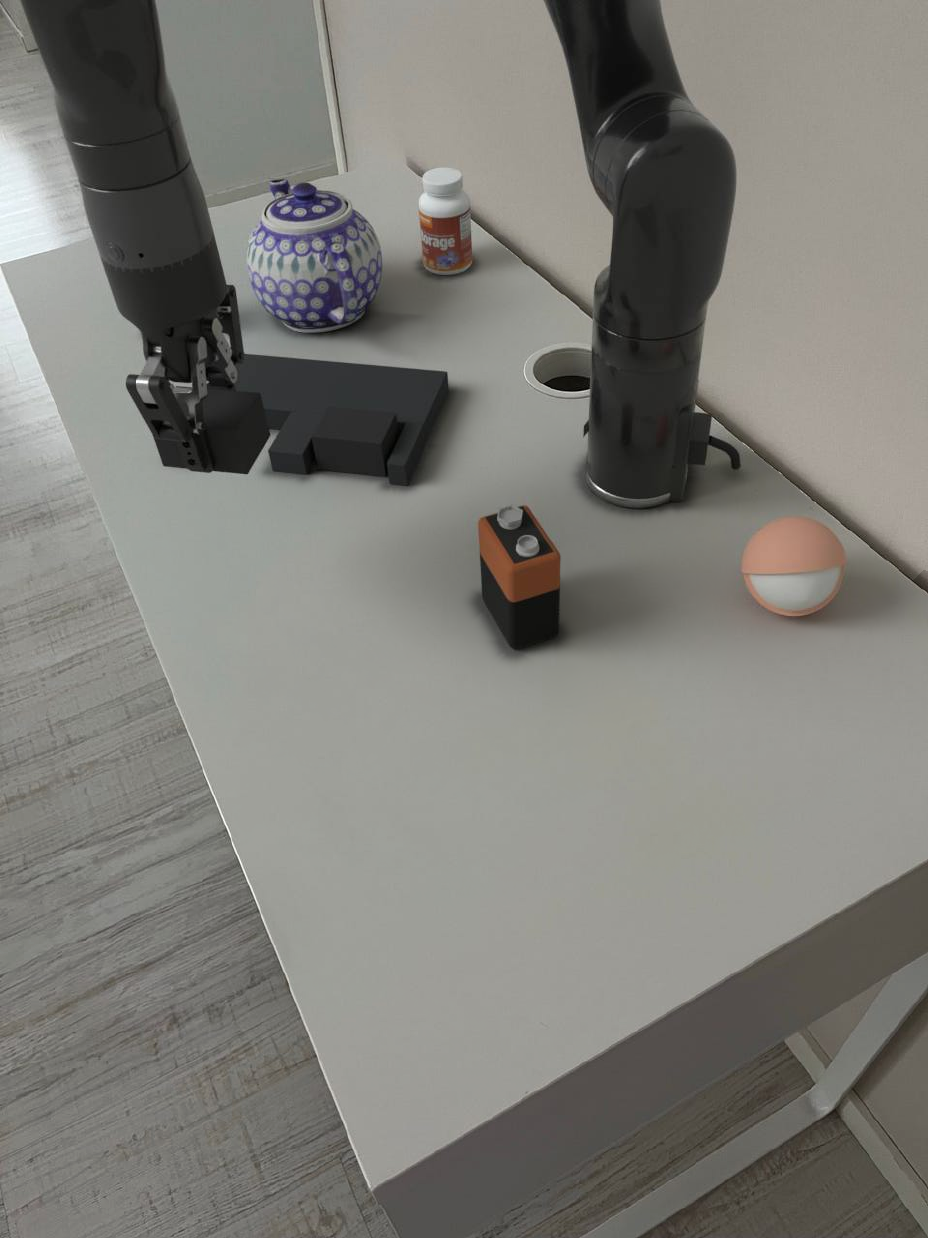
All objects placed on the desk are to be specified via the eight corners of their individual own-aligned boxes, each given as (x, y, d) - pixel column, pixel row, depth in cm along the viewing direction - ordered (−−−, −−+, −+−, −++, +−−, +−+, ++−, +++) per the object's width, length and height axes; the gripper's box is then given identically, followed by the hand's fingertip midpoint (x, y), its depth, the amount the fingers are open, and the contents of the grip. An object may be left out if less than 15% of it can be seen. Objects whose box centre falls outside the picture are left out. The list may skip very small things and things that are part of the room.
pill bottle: (414, 271, 127) (405, 181, 119) (438, 249, 130) (431, 161, 122) (458, 280, 124) (452, 190, 116) (481, 257, 128) (477, 168, 120)
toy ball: (748, 639, 82) (764, 566, 76) (724, 572, 87) (737, 500, 81) (848, 630, 82) (871, 557, 76) (818, 564, 87) (837, 491, 81)
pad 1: (271, 435, 80) (260, 392, 78) (247, 474, 77) (236, 431, 74) (189, 428, 82) (175, 385, 79) (163, 466, 79) (148, 423, 76)
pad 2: (400, 446, 102) (396, 412, 99) (386, 477, 99) (381, 443, 96) (334, 439, 103) (328, 406, 100) (317, 469, 100) (311, 436, 97)
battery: (527, 583, 87) (526, 492, 80) (561, 637, 83) (563, 545, 76) (480, 598, 86) (474, 507, 79) (511, 653, 82) (509, 562, 75)
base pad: (449, 391, 108) (447, 371, 106) (407, 486, 97) (405, 465, 96) (238, 372, 113) (233, 352, 111) (177, 460, 102) (170, 439, 100)
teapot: (419, 346, 115) (407, 215, 104) (287, 380, 111) (259, 249, 100) (353, 251, 131) (336, 130, 120) (236, 278, 128) (208, 156, 117)
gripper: (161, 294, 62) (226, 511, 74) (248, 190, 71) (293, 397, 83) (50, 287, 63) (132, 501, 75) (149, 186, 73) (208, 390, 85)
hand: (216, 445), depth 79 cm, fingers closed on pad 1, 5 cm apart
